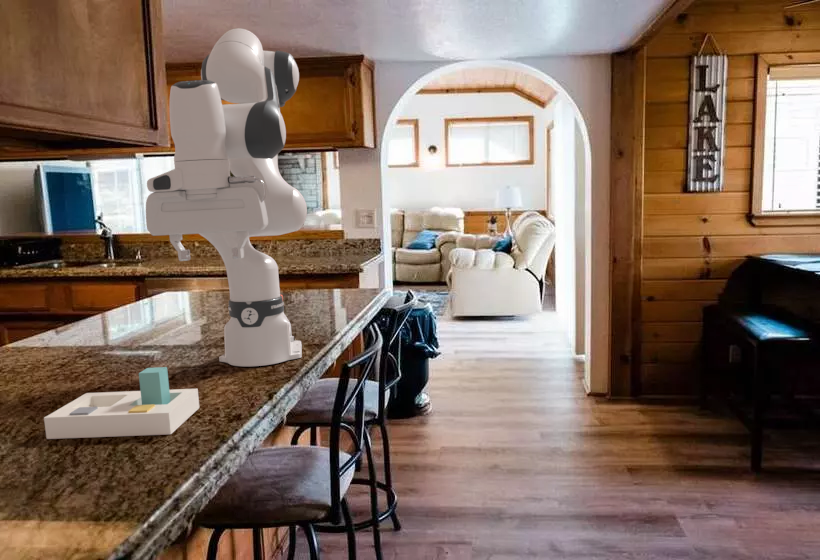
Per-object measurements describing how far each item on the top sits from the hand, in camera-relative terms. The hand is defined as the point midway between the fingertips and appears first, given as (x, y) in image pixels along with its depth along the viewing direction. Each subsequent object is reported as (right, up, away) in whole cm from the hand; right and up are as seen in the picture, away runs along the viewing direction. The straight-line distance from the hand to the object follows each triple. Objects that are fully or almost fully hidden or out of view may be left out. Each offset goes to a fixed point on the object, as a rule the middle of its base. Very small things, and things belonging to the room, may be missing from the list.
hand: (211, 259), depth 114 cm
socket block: (-13, -27, -3) cm, 31 cm away
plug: (-8, -26, -2) cm, 28 cm away
